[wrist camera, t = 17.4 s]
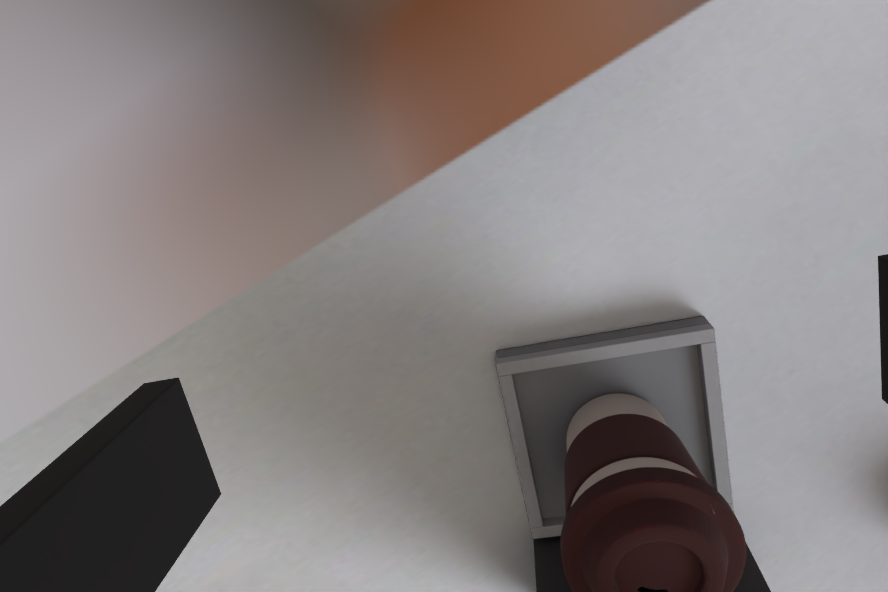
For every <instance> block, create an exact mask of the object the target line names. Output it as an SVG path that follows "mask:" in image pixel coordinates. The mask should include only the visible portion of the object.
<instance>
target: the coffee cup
mask: <svg viewBox="0 0 888 592" xmlns="http://www.w3.org/2000/svg"><path fill="white" fill-rule="evenodd" d="M566 443H567V455H566V459H565V465H564V477H565V514H566V518H565V520H564V523H563V527H562V531H561V540H560V547H561V556H562V564H563V570H564V573H565V576H566V579H567V581H568V583H569V586H570V587H571V589H572V590H573V592H733V591H734V589H735V588H736V586H737V585H738V583H739V581H740V579H741V577H742V574H743V572H744V567H745V562H746V543H745V538H744V534H743V531H742V528H741V526H740V524H739V522H738V520H737V518H736V516H735V514H734V512H733V511H732V509H731V507H730V505H729V504H728V502H727V501H726V500H725V499H724V498H723V496H722V495H721V494H720V493H719V492H718V491H717V490H716V489H714V488H713V487H712V486H711V485H709V484H708V482H707V481H706V479H705V478H704V476H703V475H702V473H701V471H700V470H699V468H698V467H697V465H696V464H695V462H694V460H693V459H692V457H691V456H690V454H689V452H688V451H687V449H686V448H685V446H684V445H683V443H682V441H681V440H680V438H679V437H678V436H677V435H676V434H675V433H674V432H673V431H672V430H671V429H670V428H669V427H668V425H667V423H666V422H665V420H664V419H663V417H662V416H661V414H660V413H659V412H658V410H657V409H656V408H655V407H654V406H652V405H651V404H650V403H648V402H647V401H645V400H644V399H641V398H639V397H636V396H633V395H629V394H619V393H615V394H607V395H603V396H600V397H597V398H595V399H592V400H590V401H589V402H587V403H586V404H585V405H583V406H582V407H581V408H580V409H579V410H578V411H577V412H576V414H575V415H574V416H573V418H572V420H571V422H570V424H569V427H568V430H567V437H566Z"/></svg>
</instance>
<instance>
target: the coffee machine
mask: <svg viewBox="0 0 888 592" xmlns="http://www.w3.org/2000/svg"><path fill="white" fill-rule="evenodd" d="M496 368H497V373H498V378H499V382H500V387H501V392H502V396H503V401H504V406H505V411H506V415H507V420H508V425H509V429H510V434H511V439H512V444H513V448H514V453H515V458H516V462H517V467H518V472H519V477H520V481H521V486H522V491H523V495H524V500H525V505H526V510H527V514H528V519H529V524H530V527H531V533H532V538H533V539H534V554H535V571H536V588H537V592H573V590H572V589H571V587H570V586H569V583H568V581H567V579H566V576H565V573H564V570H563V564H562V556H561V547H560V540H561V531H562V527H563V523H564V520H565V518H566V514H565V477H564V465H565V459H566V455H567V443H566V437H567V430H568V427H569V424H570V422H571V420H572V418H573V416H574V415H575V414H576V412H577V411H578V410H579V409H580V408H581V407H582V406H583V405H585V404H586V403H587V402H589V401H590V400H592V399H595V398H597V397H600V396H603V395H607V394H615V393H619V394H629V395H633V396H636V397H639V398H641V399H644V400H645V401H647V402H648V403H650V404H651V405H652V406H654V407H655V408H656V409H657V410H658V412H659V413H660V414H661V416H662V417H663V419H664V420H665V422H666V423H667V425H668V427H669V428H670V429H671V430H672V431H673V432H674V433H675V434H676V435H677V436H678V437H679V438H680V440H681V441H682V443H683V445H684V446H685V448H686V449H687V451H688V452H689V454H690V456H691V457H692V459H693V460H694V462H695V464H696V465H697V467H698V468H699V470H700V471H701V473H702V475H703V476H704V478H705V479H706V481H707V482H708V484H709V485H711V486H712V487H713V488H714V489H716V490H717V491H718V492H719V493H720V494H721V495H722V496H723V498H724V499H725V500H726V501H727V502H728V504H729V505H730V507H731V509H732V511H733V501H732V491H731V482H730V473H729V463H728V454H727V444H726V435H725V425H724V416H723V407H722V397H721V388H720V378H719V369H718V359H717V350H716V342H715V332H714V328H713V326H712V325H711V324H710V323H709V322H708V321H707V319H706V318H705V317H704V316H701V317H695V318H689V319H683V320H677V321H671V322H665V323H659V324H653V325H647V326H641V327H635V328H629V329H624V330H618V331H612V332H606V333H600V334H594V335H588V336H582V337H576V338H570V339H564V340H558V341H552V342H546V343H540V344H534V345H528V346H522V347H516V348H510V349H504V350H498V351H496ZM733 512H734V511H733ZM745 543H746V542H745ZM733 592H771V591H770V589H769V587H768V585H767V583H766V581H765V579H764V577H763V575H762V573H761V571H760V569H759V567H758V565H757V563H756V561H755V559H754V558H753V556H752V554H751V552H750V550H749V548H748V546H747V544H746V562H745V567H744V572H743V574H742V577H741V579H740V581H739V583H738V585H737V586H736V588H735V589H734V591H733Z"/></svg>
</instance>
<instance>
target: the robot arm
mask: <svg viewBox="0 0 888 592" xmlns="http://www.w3.org/2000/svg"><path fill="white" fill-rule="evenodd" d="M878 271H879V307H880V342H881V378H882V399H883V400H884V401H885V402H886V403H887V404H888V254H887V255H881V256H878ZM220 495H221V492H220V489H219V487H218V484H217V481H216V479H215V476H214V473H213V470H212V468H211V465H210V462H209V459H208V457H207V454H206V451H205V448H204V446H203V443H202V440H201V438H200V435H199V432H198V429H197V427H196V424H195V421H194V418H193V416H192V413H191V410H190V407H189V405H188V402H187V399H186V397H185V394H184V391H183V388H182V386H181V383H180V380H179V378H173V379H167V380H161V381H156V382H150V383H144V384H143V385H142V386H140V387H139V388H138V389H137V390H136V391H135V392H133V393H132V394H131V395H130V396H129V397H128V398H126V399H125V400H124V401H123V402H122V403H121V404H119V405H118V406H117V407H116V408H115V409H114V410H112V411H111V412H110V413H109V414H108V415H107V416H105V417H104V418H103V419H102V420H101V421H100V422H98V423H97V424H96V425H95V426H94V427H93V428H91V429H90V430H89V431H88V432H87V433H86V434H84V435H83V436H82V437H81V438H80V439H79V440H77V441H76V442H75V443H74V444H73V445H72V446H70V447H69V448H68V449H67V450H66V451H65V452H63V453H62V454H61V455H60V456H59V457H58V458H56V459H55V460H54V461H53V462H52V463H51V464H49V465H48V466H47V467H46V468H45V469H44V470H42V471H41V472H40V473H39V474H38V475H37V476H35V477H34V478H33V479H32V480H31V481H30V482H28V483H27V484H26V485H25V486H24V487H23V488H21V489H20V490H19V491H18V492H17V493H16V494H14V495H13V496H12V497H11V498H10V499H8V500H7V501H6V502H5V503H4V504H3V505H1V506H0V592H155V591H156V589H157V588H158V586H159V585H160V583H161V582H162V581H163V579H164V578H165V576H166V575H167V573H168V572H169V570H170V569H171V567H172V566H173V564H174V563H175V561H176V560H177V558H178V557H179V555H180V554H181V552H182V551H183V550H184V548H185V547H186V545H187V544H188V542H189V541H190V539H191V538H192V536H193V535H194V533H195V532H196V530H197V529H198V527H199V526H200V524H201V523H202V522H203V520H204V519H205V517H206V516H207V514H208V513H209V511H210V510H211V508H212V507H213V505H214V504H215V502H216V501H217V499H218V498H219V496H220Z"/></svg>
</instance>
